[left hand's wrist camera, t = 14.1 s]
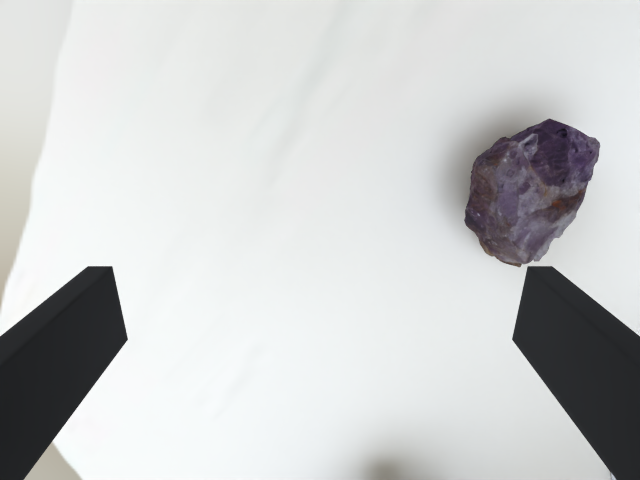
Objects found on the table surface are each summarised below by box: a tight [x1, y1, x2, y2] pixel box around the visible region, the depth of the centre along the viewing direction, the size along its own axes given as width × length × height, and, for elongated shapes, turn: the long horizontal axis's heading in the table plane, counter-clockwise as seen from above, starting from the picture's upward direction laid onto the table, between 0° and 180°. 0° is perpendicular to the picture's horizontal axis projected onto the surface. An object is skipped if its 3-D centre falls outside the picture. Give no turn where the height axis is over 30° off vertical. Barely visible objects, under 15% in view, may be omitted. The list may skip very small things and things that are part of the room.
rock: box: [464, 119, 600, 267], centre depth 33 cm, size 12×9×10 cm
